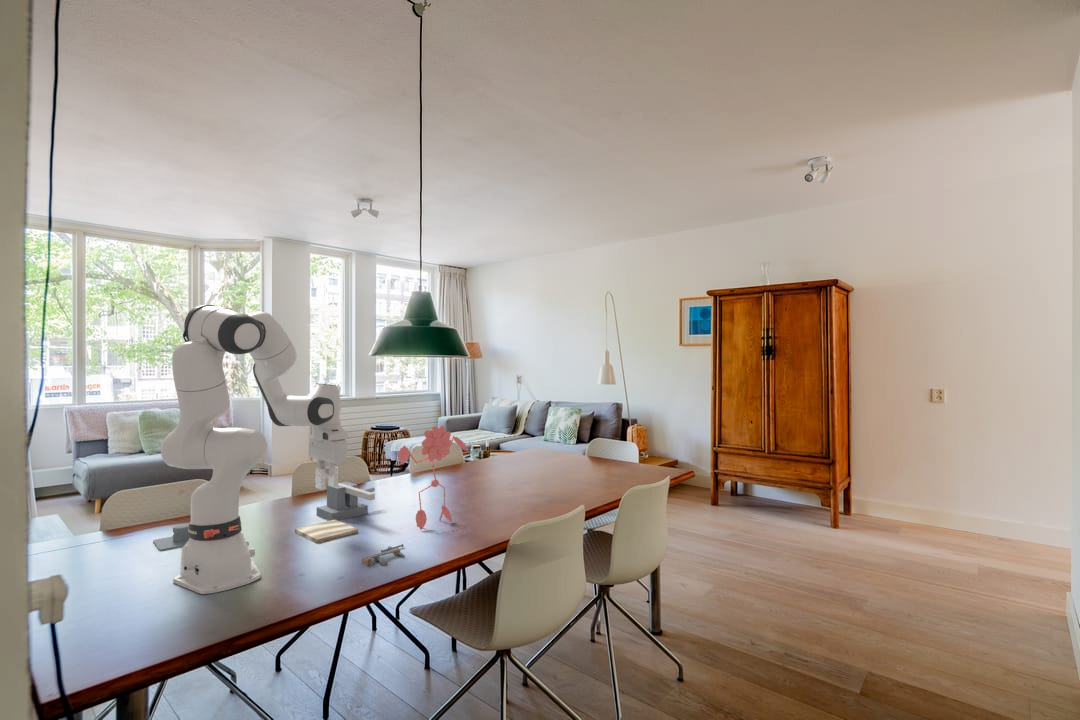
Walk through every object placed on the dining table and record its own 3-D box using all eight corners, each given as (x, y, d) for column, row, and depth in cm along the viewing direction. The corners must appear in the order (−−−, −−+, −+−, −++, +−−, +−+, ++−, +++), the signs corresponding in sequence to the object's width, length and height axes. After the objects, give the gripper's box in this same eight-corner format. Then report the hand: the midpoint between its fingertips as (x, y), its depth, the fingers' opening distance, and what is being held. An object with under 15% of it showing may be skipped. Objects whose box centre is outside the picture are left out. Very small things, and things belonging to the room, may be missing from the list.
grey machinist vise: (404, 517, 192) (404, 487, 192) (353, 530, 177) (353, 498, 177) (365, 504, 210) (365, 477, 210) (316, 515, 195) (316, 485, 195)
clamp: (371, 563, 144) (355, 553, 151) (371, 571, 144) (355, 561, 151) (419, 549, 154) (402, 541, 162) (419, 557, 154) (402, 548, 162)
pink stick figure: (393, 530, 177) (393, 427, 178) (457, 515, 195) (457, 421, 195) (415, 541, 166) (415, 431, 166) (482, 525, 183) (482, 425, 184)
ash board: (358, 532, 175) (358, 528, 175) (316, 543, 165) (316, 539, 165) (334, 522, 186) (334, 519, 186) (294, 532, 176) (294, 528, 176)
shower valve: (216, 524, 168) (159, 534, 158) (216, 541, 168) (159, 552, 158) (207, 516, 177) (152, 525, 167) (207, 532, 177) (152, 542, 167)
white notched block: (338, 486, 177) (338, 467, 177) (321, 489, 172) (320, 470, 172) (332, 484, 179) (332, 465, 179) (315, 487, 175) (315, 468, 175)
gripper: (303, 430, 180) (303, 470, 180) (332, 436, 167) (332, 479, 167) (321, 428, 185) (321, 467, 185) (350, 434, 171) (350, 476, 171)
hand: (326, 473), depth 176 cm, fingers closed on white notched block, 4 cm apart
